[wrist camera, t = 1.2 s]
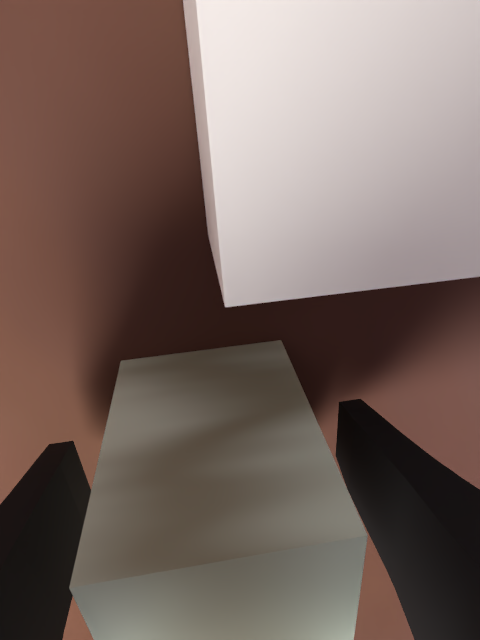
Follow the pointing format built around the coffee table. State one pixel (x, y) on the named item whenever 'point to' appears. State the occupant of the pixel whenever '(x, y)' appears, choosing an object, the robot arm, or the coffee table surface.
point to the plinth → (337, 143)
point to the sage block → (217, 507)
